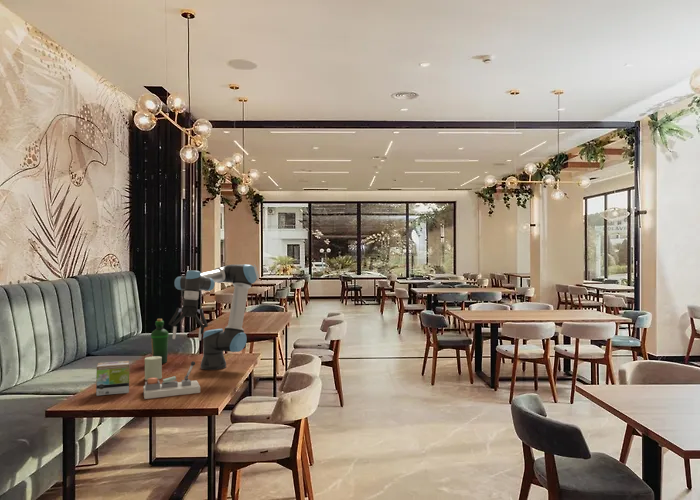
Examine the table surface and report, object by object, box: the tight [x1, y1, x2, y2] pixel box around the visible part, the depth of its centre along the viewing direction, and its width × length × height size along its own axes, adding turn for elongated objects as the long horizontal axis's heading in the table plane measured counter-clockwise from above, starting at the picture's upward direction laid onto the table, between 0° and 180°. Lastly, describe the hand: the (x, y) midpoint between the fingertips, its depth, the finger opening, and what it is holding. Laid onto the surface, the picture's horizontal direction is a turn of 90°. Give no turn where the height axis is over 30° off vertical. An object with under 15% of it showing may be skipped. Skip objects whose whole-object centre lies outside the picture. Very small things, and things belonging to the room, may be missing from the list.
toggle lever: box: [183, 360, 196, 380], centre depth 261 cm, size 2×2×10 cm
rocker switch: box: [162, 375, 177, 383], centre depth 257 cm, size 6×4×1 cm, turn 114°
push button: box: [147, 378, 159, 384], centre depth 254 cm, size 5×5×3 cm
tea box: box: [95, 360, 130, 397], centre depth 258 cm, size 15×10×15 cm
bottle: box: [150, 318, 169, 365], centre depth 327 cm, size 11×11×28 cm
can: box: [144, 355, 163, 381], centre depth 286 cm, size 9×9×12 cm
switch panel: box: [143, 378, 201, 400], centre depth 257 cm, size 26×14×6 cm, turn 114°
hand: (186, 339), depth 269 cm, fingers open, 13 cm apart
